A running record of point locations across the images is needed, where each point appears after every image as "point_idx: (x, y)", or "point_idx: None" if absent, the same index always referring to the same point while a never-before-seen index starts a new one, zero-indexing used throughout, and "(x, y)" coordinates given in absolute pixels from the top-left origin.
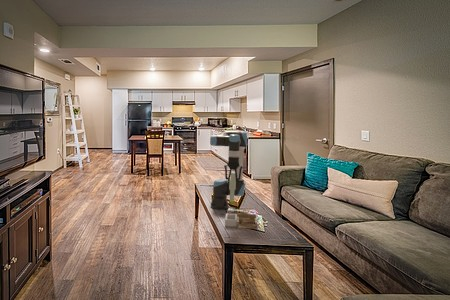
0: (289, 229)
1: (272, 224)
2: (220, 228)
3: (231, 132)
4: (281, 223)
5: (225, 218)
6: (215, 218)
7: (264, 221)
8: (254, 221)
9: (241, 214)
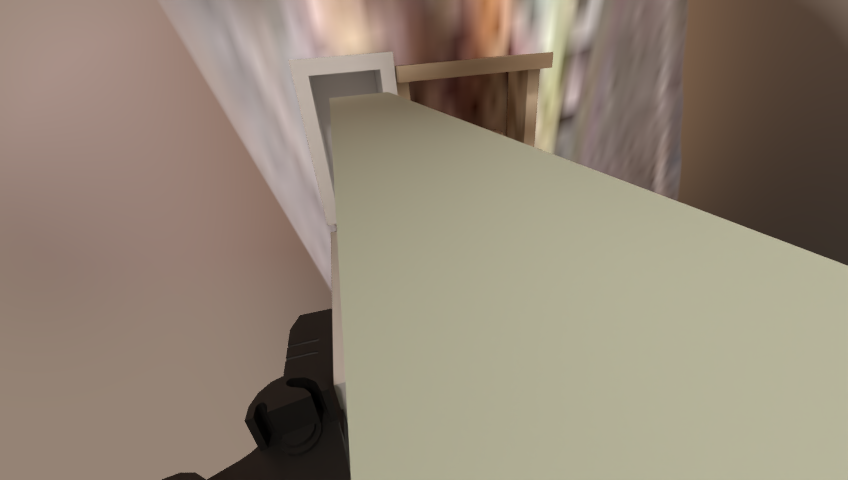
0: (673, 137)
1: (613, 70)
2: (309, 239)
3: None
4: (671, 31)
5: (323, 199)
6: (184, 22)
7: (578, 11)
8: (514, 85)
9: (435, 78)
